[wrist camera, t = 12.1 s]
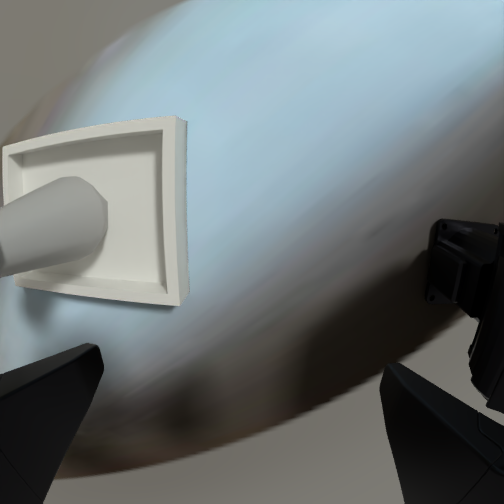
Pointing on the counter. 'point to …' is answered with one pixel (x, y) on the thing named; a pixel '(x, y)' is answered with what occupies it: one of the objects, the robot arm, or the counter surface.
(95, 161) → the tray
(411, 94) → the counter surface
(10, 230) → the salt shaker
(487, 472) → the robot arm
